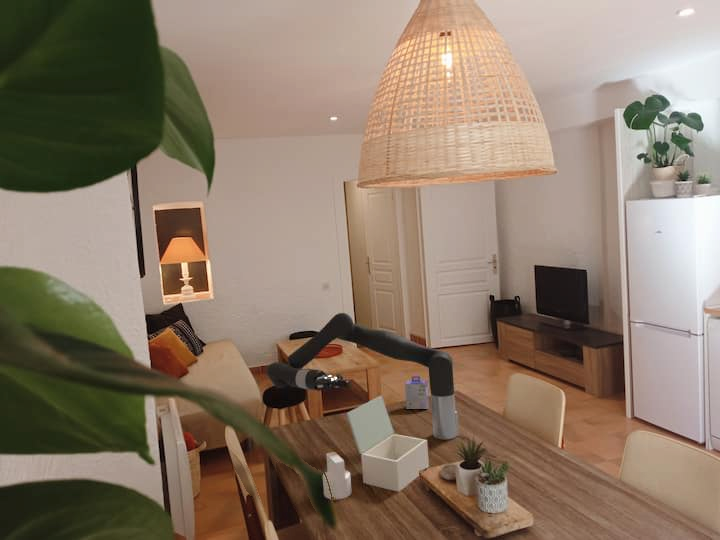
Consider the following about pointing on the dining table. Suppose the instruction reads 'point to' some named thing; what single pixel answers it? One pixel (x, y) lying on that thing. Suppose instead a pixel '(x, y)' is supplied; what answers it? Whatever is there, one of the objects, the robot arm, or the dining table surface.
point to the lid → (370, 424)
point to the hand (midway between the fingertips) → (348, 384)
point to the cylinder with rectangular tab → (336, 478)
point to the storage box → (394, 462)
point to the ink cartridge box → (416, 394)
